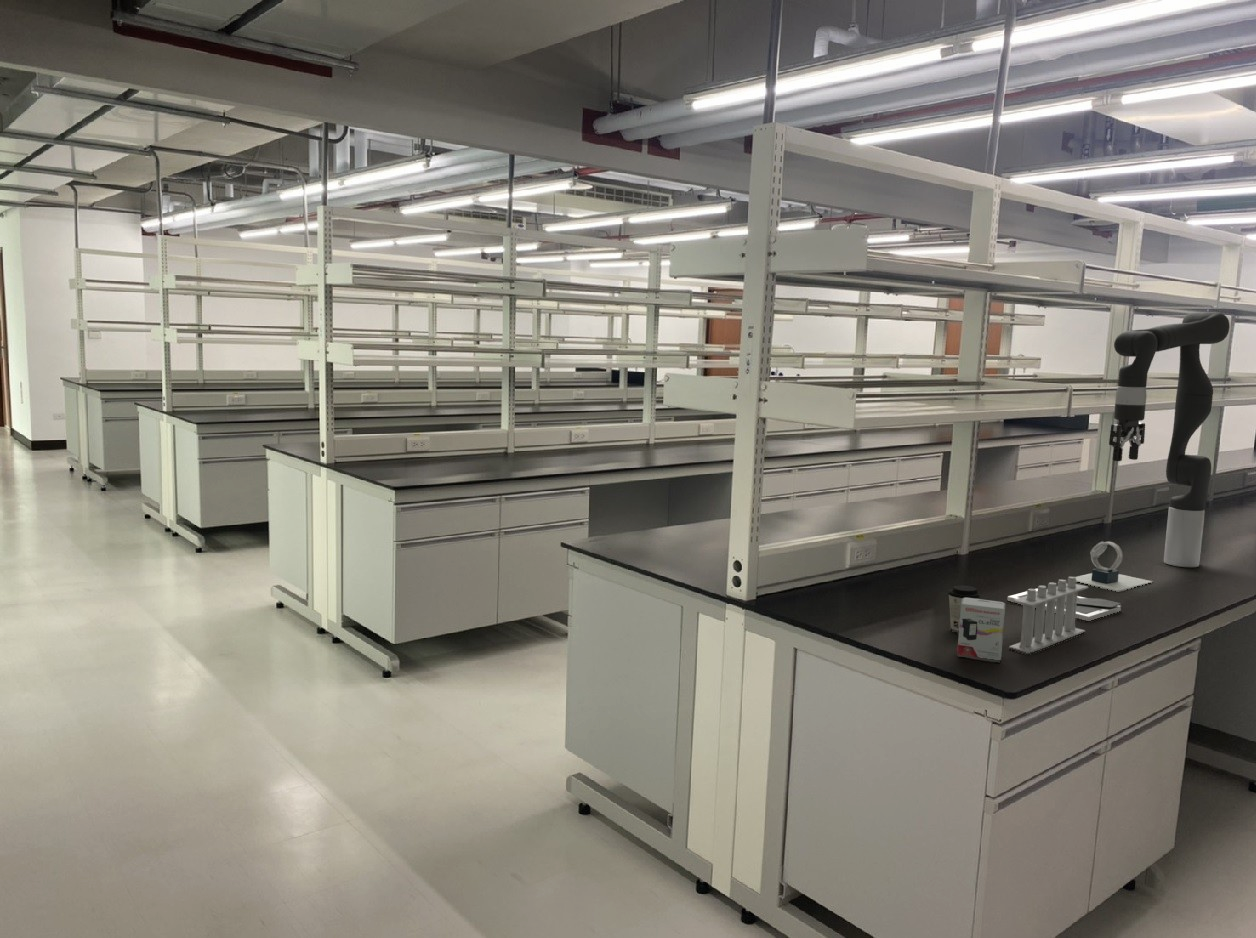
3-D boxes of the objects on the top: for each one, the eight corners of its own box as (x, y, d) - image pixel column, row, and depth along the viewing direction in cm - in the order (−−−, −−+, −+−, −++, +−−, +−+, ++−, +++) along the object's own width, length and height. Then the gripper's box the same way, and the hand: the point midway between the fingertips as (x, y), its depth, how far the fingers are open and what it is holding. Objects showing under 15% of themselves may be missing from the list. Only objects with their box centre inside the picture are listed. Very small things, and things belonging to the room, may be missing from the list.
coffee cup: (952, 635, 201) (955, 592, 200) (940, 626, 208) (943, 584, 207) (983, 635, 202) (986, 592, 200) (970, 626, 209) (972, 584, 207)
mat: (1102, 572, 261) (1102, 570, 261) (1152, 583, 250) (1152, 581, 250) (1067, 580, 251) (1068, 578, 251) (1118, 592, 240) (1118, 590, 240)
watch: (1095, 576, 254) (1099, 538, 253) (1124, 582, 248) (1127, 543, 246) (1084, 578, 251) (1087, 540, 250) (1112, 585, 245) (1116, 546, 243)
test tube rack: (1065, 628, 208) (1070, 573, 206) (1084, 633, 205) (1089, 577, 203) (1008, 649, 193) (1013, 589, 191) (1028, 655, 189) (1033, 594, 188)
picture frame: (1120, 614, 222) (1039, 595, 239) (1121, 603, 222) (1040, 584, 238) (1088, 625, 213) (1006, 604, 230) (1089, 613, 213) (1007, 593, 229)
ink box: (956, 657, 187) (959, 602, 186) (957, 650, 192) (961, 596, 190) (1000, 664, 184) (1004, 608, 182) (1001, 656, 188) (1005, 601, 187)
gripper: (1130, 404, 246) (1125, 463, 248) (1157, 403, 253) (1151, 460, 256) (1103, 402, 252) (1098, 460, 254) (1130, 401, 260) (1125, 457, 262)
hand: (1125, 460), depth 255 cm, fingers open, 8 cm apart
